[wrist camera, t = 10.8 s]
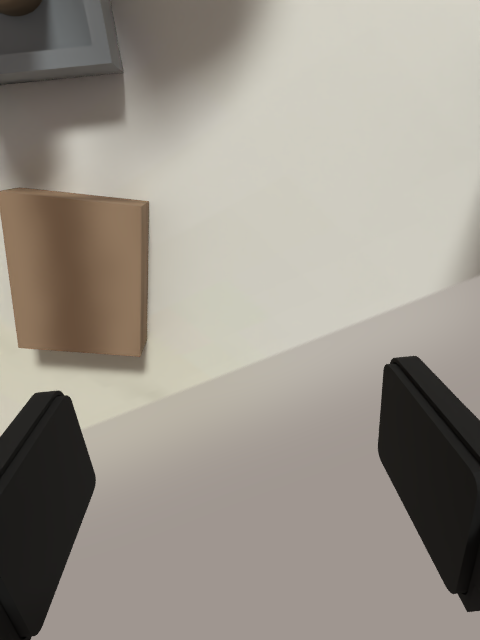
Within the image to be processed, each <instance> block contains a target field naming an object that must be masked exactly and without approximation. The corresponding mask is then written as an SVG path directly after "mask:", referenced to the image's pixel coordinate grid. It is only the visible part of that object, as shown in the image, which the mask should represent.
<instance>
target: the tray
mask: <svg viewBox="0 0 480 640" xmlns="http://www.w3.org/2000/svg"><path fill="white" fill-rule="evenodd" d="M113 73H123V67H122V62H121V56H120V51H119V45H118V40H117V34H116V29H115V23H114V18H113V12H112V7H111V2H110V0H42V2H41V3H40V5H39V6H38V7H37V8H36V9H35V10H34V11H33V12H31V13H29V14H26V15H23V16H9V15H6V14H3V13H0V85H2V84H12V83H22V82H32V81H42V80H53V79H63V78H73V77H83V76H93V75H103V74H113Z"/></svg>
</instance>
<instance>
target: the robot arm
mask: <svg viewBox="0 0 480 640" xmlns="http://www.w3.org/2000/svg"><path fill="white" fill-rule="evenodd" d="M378 452H379V457H380V459H381V462H382V464H383V466H384V468H385V469H386V472H387V474H388V475H389V477H390V479H391V481H392V483H393V485H394V487H395V489H396V491H397V493H398V495H399V497H400V498H401V501H402V502H403V504H404V506H405V508H406V510H407V512H408V514H409V516H410V518H411V520H412V522H413V524H414V526H415V528H416V529H417V531H418V534H419V535H420V537H421V539H422V541H423V543H424V545H425V547H426V549H427V551H428V553H429V555H430V557H431V559H432V561H433V563H434V564H435V566H436V568H437V570H438V572H439V574H440V576H441V578H442V580H443V582H444V584H445V585H446V587H447V589H448V590H449V591H450V592H451V593H452V594H456V593H458V595H459V597H460V599H461V601H462V603H463V605H464V607H465V608H466V610H467V612H472V611H480V420H479V419H478V418H477V417H476V416H475V415H474V414H473V413H472V412H471V411H470V410H469V409H468V408H466V406H465V405H464V404H463V403H462V402H461V401H460V400H459V399H458V398H457V397H456V396H455V395H454V394H453V393H452V392H451V391H450V390H449V389H448V388H447V387H446V385H444V383H442V381H441V380H440V379H439V378H438V377H437V376H436V375H435V374H434V373H433V372H432V371H431V370H430V369H429V368H428V367H427V366H426V365H425V364H424V363H423V362H422V361H421V359H420V358H418V357H417V356H409V357H399V358H393V359H392V360H391V362H390V364H386V365H385V367H384V373H383V387H382V399H381V413H380V425H379V439H378ZM95 481H96V479H95V473H94V470H93V467H92V463H91V460H90V457H89V454H88V451H87V448H86V445H85V441H84V438H83V435H82V432H81V429H80V426H79V422H78V419H77V416H76V413H75V410H74V407H73V404H72V401H71V398H70V397H69V396H64V394H63V393H62V392H61V391H49V392H39V393H35V394H34V395H33V396H32V397H31V398H30V400H29V401H28V402H27V403H26V405H25V406H24V407H23V409H22V410H21V411H20V412H19V414H18V415H17V416H16V418H15V419H14V420H13V421H12V423H11V424H10V425H9V426H8V428H7V429H6V430H5V432H4V433H3V434H2V435H1V437H0V640H30V639H31V637H32V636H35V635H37V634H38V633H39V631H40V630H41V628H42V626H43V623H44V620H45V618H46V615H47V612H48V610H49V607H50V604H51V602H52V599H53V597H54V594H55V591H56V589H57V586H58V584H59V581H60V578H61V576H62V573H63V570H64V568H65V565H66V562H67V559H68V557H69V555H70V552H71V549H72V547H73V544H74V541H75V539H76V536H77V533H78V531H79V528H80V526H81V523H82V520H83V518H84V515H85V512H86V510H87V507H88V505H89V502H90V499H91V497H92V494H93V491H94V488H95Z"/></svg>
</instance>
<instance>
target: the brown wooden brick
mask: <svg viewBox="0 0 480 640" xmlns="http://www.w3.org/2000/svg"><path fill="white" fill-rule="evenodd" d="M0 213H1V221H2V228H3V235H4V243H5V250H6V258H7V265H8V273H9V280H10V287H11V295H12V302H13V310H14V317H15V325H16V332H17V340H18V347H19V348H28V349H41V350H55V351H69V352H83V353H96V354H110V355H124V356H138V357H140V356H141V353H142V351H143V348H144V346H145V343H146V341H147V299H148V234H149V201H141V200H131V199H122V198H113V197H103V196H94V195H85V194H76V193H66V192H57V191H48V190H38V189H29V188H14V189H8V190H3V191H0Z"/></svg>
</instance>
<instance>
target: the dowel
mask: <svg viewBox="0 0 480 640" xmlns="http://www.w3.org/2000/svg"><path fill="white" fill-rule="evenodd" d="M41 2H42V0H0V13H3V14H6V15H9V16H23V15H26V14H29V13H31V12H33V11H34V10H35V9H36V8H37V7H38V6H39V5H40V3H41Z"/></svg>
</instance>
